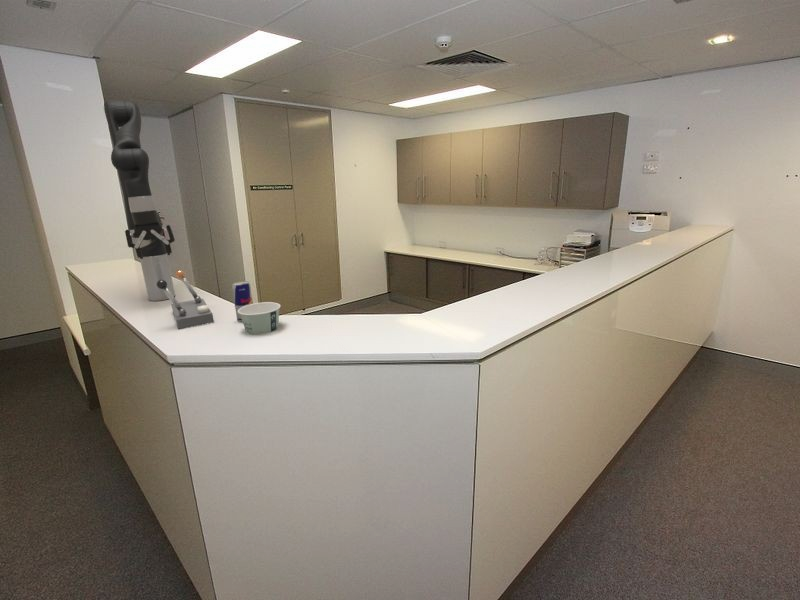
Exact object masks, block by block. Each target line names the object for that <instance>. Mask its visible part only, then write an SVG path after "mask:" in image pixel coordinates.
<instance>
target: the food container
mask: <svg viewBox="0 0 800 600" xmlns="http://www.w3.org/2000/svg"><path fill="white" fill-rule="evenodd" d="M280 308H281V304H280V303H277V302H272V301H264V302H263V301H262V302H255V303H254V302H253V304H250V305H246V306H243V307H241V308H240V309H238V313H239V314H240V316H241V319H242V321H243V322H242V324H243V326H244V330H245V332H246V333H247V334H249V335H262V334H268V333H271V332H274V331H276V330H277V329H278V328H279V324H280V323H279V317H280Z"/></svg>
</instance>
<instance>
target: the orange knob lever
mask: <svg viewBox="0 0 800 600" xmlns="http://www.w3.org/2000/svg"><path fill="white" fill-rule="evenodd" d="M185 275H186V273H185V271H184V270H182V269H178V270H176V271H175V277H176V278H178V279H180V280H181V281H182V283H183V285H185V287H186V289H187V290H188V292H189V293H190V294H191V295H192V297H193V300H195V302H197V303H200V302H201V299H202V298H201V297H200V296H199V295H198V294H197V292H196V291H195V289H194V288H193V287H192V285H191V283H190V282H189V281H188V279H187V277H186V276H185Z"/></svg>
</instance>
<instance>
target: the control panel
mask: <svg viewBox="0 0 800 600" xmlns="http://www.w3.org/2000/svg"><path fill="white" fill-rule="evenodd" d="M178 303H179V304H180V306H181V307H182V308H184V309H185V311H186V315H185V316H180V315H179V313H178V310H177V309H176V307H175V306H174V304H173V303H171V308H172V310H171V311H172V314H173V317H174V320H175V322H176V326H177V328H178V330H182V329H185V328H186V327H188V328H191V326H193V327H197V325H198V326H202V324H203V325H206V324H207V323H208V324H211V323H215V322H214V321H215V320H214V315H213V314H214V313H213V312H212V310H211V308H209V311H208V312H205V313H198V308H197V307H198V306H202V305H208V304H207V303H206V301H205V300H204V298H201V302H200V303H197V302H195V300H194V299H191V300H187V301H180V302H179V301H178ZM181 328H182V329H181Z"/></svg>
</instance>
